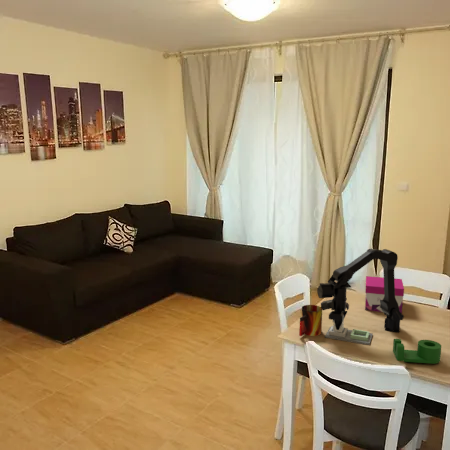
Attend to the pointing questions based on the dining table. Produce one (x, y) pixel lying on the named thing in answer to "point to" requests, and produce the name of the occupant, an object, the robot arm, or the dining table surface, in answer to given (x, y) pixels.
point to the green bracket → (418, 352)
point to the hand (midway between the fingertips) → (338, 328)
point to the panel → (350, 335)
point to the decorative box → (381, 293)
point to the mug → (311, 320)
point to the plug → (339, 328)
